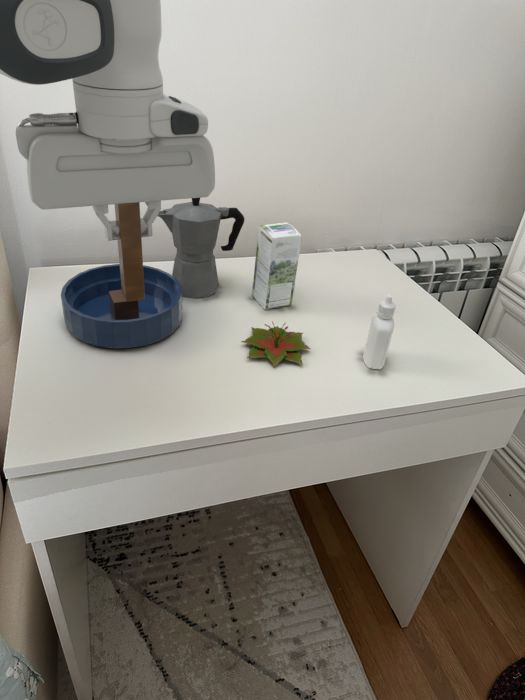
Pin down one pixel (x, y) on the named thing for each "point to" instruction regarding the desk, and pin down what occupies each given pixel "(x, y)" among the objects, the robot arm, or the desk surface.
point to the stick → (130, 251)
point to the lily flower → (276, 344)
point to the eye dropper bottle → (379, 335)
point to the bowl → (95, 316)
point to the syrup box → (276, 265)
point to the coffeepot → (198, 243)
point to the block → (122, 306)
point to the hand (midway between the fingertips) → (129, 236)
